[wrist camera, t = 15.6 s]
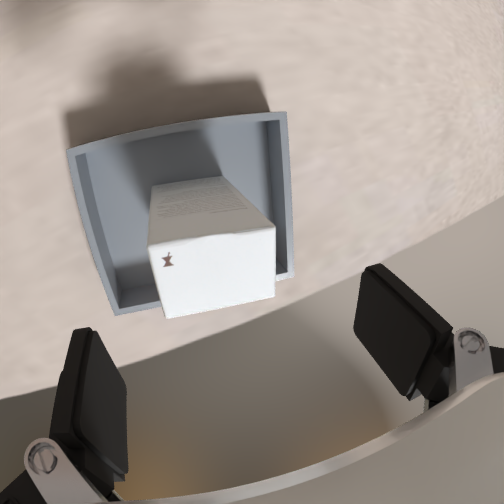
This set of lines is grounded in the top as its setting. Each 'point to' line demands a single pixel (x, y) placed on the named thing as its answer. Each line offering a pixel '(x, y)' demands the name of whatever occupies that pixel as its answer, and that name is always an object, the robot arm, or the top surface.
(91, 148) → the tray
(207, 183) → the skincare box
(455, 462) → the robot arm
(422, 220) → the top surface
